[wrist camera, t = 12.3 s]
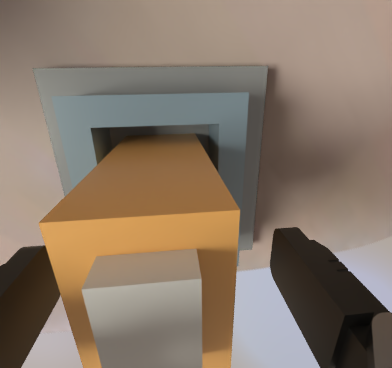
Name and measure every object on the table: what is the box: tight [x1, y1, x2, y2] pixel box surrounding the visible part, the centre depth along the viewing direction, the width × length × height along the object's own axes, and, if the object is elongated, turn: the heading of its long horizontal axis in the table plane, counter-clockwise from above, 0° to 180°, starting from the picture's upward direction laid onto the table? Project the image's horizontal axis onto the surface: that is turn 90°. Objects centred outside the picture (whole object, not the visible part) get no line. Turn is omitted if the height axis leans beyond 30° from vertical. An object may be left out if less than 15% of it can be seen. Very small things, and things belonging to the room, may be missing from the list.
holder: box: [33, 66, 268, 266], centre depth 15 cm, size 14×14×4 cm
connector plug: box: [39, 133, 240, 368], centre depth 11 cm, size 4×6×12 cm
